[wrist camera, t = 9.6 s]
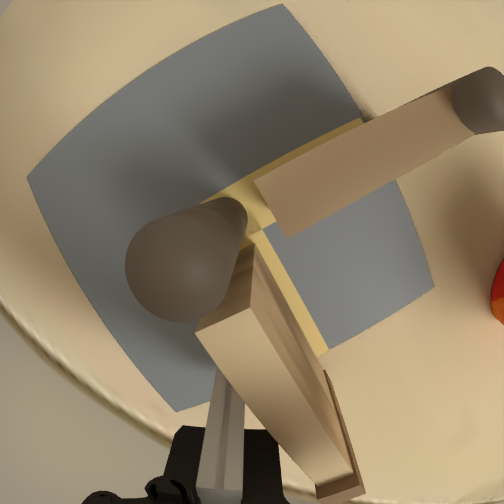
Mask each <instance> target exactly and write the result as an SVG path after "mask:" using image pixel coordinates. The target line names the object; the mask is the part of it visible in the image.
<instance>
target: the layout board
mask: <svg viewBox="0 0 504 504" xmlns="http://www.w3.org/2000/svg"><path fill="white" fill-rule="evenodd" d="M364 123H366V121H365V119H364V117H363V116H362V114H361V112H360V110H359V109H358V107H357V105H356V104H355V102H354V100H353V99H352V97H351V95H350V94H349V92H348V91H347V89H346V87H345V86H344V84H343V83H342V81H341V80H340V78H339V77H338V75H337V74H336V72H335V71H334V69H333V68H332V66H331V65H330V63H329V62H328V61H327V59H326V58H325V56H324V55H323V54H322V52H321V51H320V49H319V48H318V47H317V45H316V44H315V43H314V41H313V40H312V39H311V38H310V36H309V35H308V34H307V32H306V31H305V30H304V29H303V27H302V26H301V25H300V24H299V22H298V21H297V20H296V19H295V18H294V16H293V15H292V14H291V13H290V12H289V11H288V9H287V8H286V7H285V6H284V5H283V4H280V5H277V6H274V7H272V8H269V9H266V10H263V11H261V12H258V13H256V14H253V15H251V16H248V17H246V18H244V19H241V20H239V21H237V22H235V23H232V24H230V25H228V26H226V27H224V28H222V29H219V30H217V31H215V32H213V33H211V34H209V35H207V36H205V37H203V38H202V39H200V40H198V41H196V42H194V43H192V44H190V45H189V46H187V47H185V48H183V49H182V50H180V51H178V52H176V53H175V54H173V55H171V56H170V57H168V58H166V59H165V60H163V61H162V62H160V63H158V64H157V65H155V66H154V67H152V68H151V69H149V70H148V71H146V72H145V73H143V74H142V75H140V76H139V77H137V78H136V79H135V80H133V81H132V82H130V83H129V84H128V85H126V86H125V87H123V88H122V89H121V90H119V91H118V92H117V93H115V94H114V95H113V96H112V97H110V98H109V99H108V100H106V101H105V102H104V103H103V104H102V105H100V106H99V107H98V108H97V109H95V110H94V111H93V112H92V113H91V114H90V115H88V116H87V117H86V118H85V119H84V120H83V121H82V122H80V123H79V124H78V125H77V126H76V127H75V128H74V129H73V130H72V131H71V132H69V133H68V134H67V135H66V136H65V137H64V138H63V139H62V140H61V141H60V142H59V143H58V144H57V145H56V146H55V147H54V148H53V149H52V150H51V151H50V152H49V153H48V154H47V155H46V156H45V157H44V158H43V160H42V161H41V162H40V163H39V164H38V165H37V166H36V167H35V168H34V169H33V171H32V172H31V173H30V174H29V175H28V176H27V180H28V182H29V185H30V187H31V190H32V192H33V195H34V197H35V199H36V202H37V204H38V206H39V209H40V211H41V213H42V215H43V217H44V220H45V222H46V224H47V226H48V228H49V230H50V232H51V234H52V236H53V238H54V240H55V242H56V244H57V246H58V248H59V250H60V252H61V254H62V255H63V257H64V259H65V261H66V263H67V265H68V266H69V268H70V270H71V272H72V273H73V275H74V277H75V278H76V280H77V282H78V284H79V285H80V287H81V289H82V290H83V292H84V293H85V295H86V297H87V298H88V300H89V301H90V303H91V304H92V306H93V308H94V309H95V311H96V312H97V314H98V315H99V317H100V318H101V320H102V321H103V323H104V324H105V325H106V327H107V328H108V330H109V331H110V333H111V334H112V335H113V337H114V338H115V339H116V341H117V342H118V344H119V345H120V346H121V348H122V349H123V350H124V352H125V353H126V354H127V355H128V357H129V358H130V359H131V361H132V362H133V363H134V364H135V366H136V367H137V368H138V369H139V371H140V372H141V373H142V374H143V376H144V377H145V378H146V379H147V380H148V382H149V383H150V384H151V385H152V386H153V387H154V389H155V390H156V391H157V392H158V393H159V394H160V395H161V397H162V398H163V399H164V400H165V401H166V402H167V403H168V404H169V405H170V406H171V408H172V409H173V410H174V411H175V412H178V411H181V410H185V409H188V408H191V407H194V406H197V405H200V404H203V403H206V402H208V401H211V396H212V390H213V385H214V379H215V374H216V368H217V365H216V363H215V362H214V360H213V359H212V358H211V356H210V355H209V353H208V352H207V350H206V349H205V348H204V346H203V345H202V343H201V342H200V340H199V339H198V337H197V336H196V334H195V331H196V328H197V326H198V323H199V321H200V320H197V321H193V322H186V323H178V322H171V321H167V320H164V319H161V318H159V317H157V316H155V315H153V314H152V313H150V312H149V311H147V310H146V309H145V308H144V307H143V306H142V305H141V304H140V303H139V302H138V301H137V299H136V298H135V296H134V295H133V293H132V291H131V289H130V287H129V285H128V282H127V278H126V273H125V257H126V252H127V249H128V246H129V244H130V242H131V240H132V238H133V237H134V235H135V234H136V233H137V232H138V231H139V230H140V229H141V228H142V227H143V226H145V225H146V224H148V223H149V222H151V221H154V220H156V219H159V218H161V217H164V216H167V215H170V214H173V213H176V212H178V211H181V210H184V209H187V208H190V207H193V206H196V205H199V204H202V203H205V202H208V201H211V200H214V199H217V198H220V197H230V198H234V199H236V200H237V201H239V202H240V203H241V204H242V205H243V206H244V208H245V210H246V212H247V216H248V223H247V227H246V230H245V233H244V237H243V240H242V243H241V246H240V250H242V249H244V248H245V247H247V246H249V245H251V244H253V243H255V244H256V245H257V247H258V249H259V251H260V253H261V255H262V257H263V258H264V260H265V262H266V264H267V266H268V268H269V270H270V271H271V273H272V275H273V277H274V279H275V281H276V283H277V284H278V286H279V288H280V290H281V292H282V294H283V296H284V298H285V299H286V301H287V303H288V305H289V307H290V309H291V311H292V313H293V314H294V316H295V318H296V320H297V322H298V324H299V326H300V328H301V329H302V331H303V333H304V335H305V337H306V339H307V341H308V343H309V344H310V346H311V348H312V350H313V352H314V354H315V356H316V357H317V356H319V355H321V354H323V353H325V352H327V351H329V349H331V348H333V347H335V346H337V345H339V344H341V343H343V342H345V341H347V340H348V339H350V338H352V337H354V336H356V335H358V334H359V333H361V332H363V331H365V330H366V329H368V328H370V327H372V326H373V325H375V324H377V323H378V322H380V321H382V320H384V319H385V318H387V317H389V316H390V315H392V314H393V313H395V312H397V311H398V310H400V309H401V308H403V307H405V306H406V305H408V304H409V303H411V302H412V301H414V300H416V299H417V298H419V297H420V296H422V295H423V294H425V293H426V292H428V291H429V290H430V289H432V288H433V287H434V284H433V280H432V277H431V273H430V270H429V267H428V264H427V260H426V257H425V254H424V251H423V248H422V245H421V243H420V240H419V237H418V234H417V231H416V229H415V226H414V223H413V221H412V218H411V216H410V213H409V210H408V208H407V206H406V203H405V201H404V198H403V196H402V194H401V191H400V189H399V187H398V184H397V182H396V180H395V179H394V180H392V181H391V182H389V183H387V184H385V185H384V186H382V187H380V188H378V189H376V190H375V191H373V192H371V193H369V194H367V195H366V196H364V197H362V198H360V199H358V200H357V201H355V202H353V203H351V204H349V205H348V206H346V207H344V208H342V209H340V210H339V211H337V212H335V213H333V214H331V215H330V216H328V217H326V218H324V219H322V220H321V221H319V222H317V223H315V224H313V225H312V226H310V227H308V228H306V229H304V230H303V231H301V232H299V233H297V234H295V235H293V236H292V237H290V238H288V239H286V237H285V235H284V234H283V232H282V230H281V228H280V226H279V225H278V223H277V221H276V219H275V217H274V216H273V214H272V212H271V210H270V209H269V207H268V205H267V203H266V202H265V200H264V198H263V196H262V195H261V193H260V191H259V189H258V188H257V186H256V184H255V182H254V180H256V179H258V178H259V177H261V176H263V175H265V174H267V173H268V172H270V171H272V170H274V169H276V168H278V167H279V166H281V165H283V164H285V163H287V162H289V161H291V160H292V159H294V158H296V157H298V156H300V155H302V154H304V153H306V152H308V151H310V150H312V149H313V148H315V147H317V146H319V145H321V144H323V143H325V142H327V141H329V140H331V139H333V138H335V137H337V136H339V135H341V134H343V133H345V132H347V131H349V130H351V129H354V128H356V127H358V126H360V125H362V124H364ZM240 250H239V251H240Z"/></svg>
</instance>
